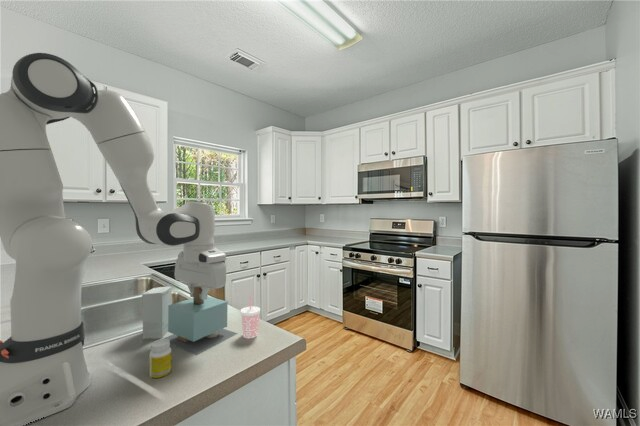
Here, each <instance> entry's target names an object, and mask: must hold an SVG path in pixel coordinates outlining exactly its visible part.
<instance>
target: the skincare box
mask: <svg viewBox="0 0 640 426" xmlns="http://www.w3.org/2000/svg"><path fill="white" fill-rule="evenodd" d="M141 295H142V296H141V300H142V303H141V304H142V306H141V307H142V310H141V311H142V340H152V339H163V338H165V336H166V334H167V333H169V332H168V305H171V304H173V300H172V296H173V295H172V286H159V287H153V288H151V289H149V290H147V291H146V292H143V293H142V294H141Z"/></svg>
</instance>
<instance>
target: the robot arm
mask: <svg viewBox="0 0 640 426" xmlns="http://www.w3.org/2000/svg"><path fill="white" fill-rule="evenodd" d="M11 74H12V76H11V80H10V88H9V89H8V90H7V91H6V92H2V93H0V239H1V240H0V241H1V243H2V247H3V249H4V251H5V253H6V254H7V255H8V256H9V257H10V258H11V259H12V260H14V261H15V274H14V281H13V282H14V283H13V290H12V296H11V297H10V300H9V304H10V337H8V338H7V339H6V340H5V341H4V342H3V341H2V340H1V339H0V426H23V425H24V426H27V425H29V424H31V423H30V422H32V423H34V422H36V421H35V420H37V421H39V420H42V419H44V418H47V417H49V416H52V415H54V414H56V413H60V412H61V411H64V410H65V409H68V408H70V407H71V406H73V404H74V403H75V401H76V399H77V397H79V395H81V394H82V393H83V392H84V391H85V390H86V389H87V388H88V387H89V386H90V385H91V382H92V376H91V375H90V373H89V371H88V367H87V362H86V358H85V353H84V345H85V337H86V335H85V333H86V331H85V325H84V322H83V321H82V288H83V281H84V277H85V271H86V267H87V263H88V261H87V260H88V257H89V256H90V255H91V252H92V250H93V240H92V239H93V238H92V237H91V235H90V234H89V232H88V231H87V230H86V228H84V227H83V225H81V224H79V223H77V221H76V222H75V221H73V220H71V219H67V217H66V212H65V207H64V198H63V192H64V191H63V190H64V184H63V181H62V178H61V175H60V172H59V168H58V166H57V163H56V160H55V155H54V153H53V150H52V147H51V144H50V142H49V139H48V136H47V129H46V128H47V125H50V124H54V123H57V122H62V121H65V120H67V119H69V118H73V119H74V120H76V121H78V122H79V123H81V124H82V125H83V126H84V127H85V128H86V129H87V131H88V132H89V133H90V135H91V138H93V141H94V143H95V144H96V147H97V148H98V150H99V151H100V153H101V155H102V156H103V158H104V160H105V161H106V163H107V164H108V167H110V169H111V170H112V173H113V174H114V176H115V178H116V179H117V181H118V183H119V185H120V187H121V189H122V192H123V193H124V196H125V197H126V199H127V202H128V204H129V206H130V208H131V209H132V212H133V214H134V219H135V230H136V234H137V236H138V237H139V239H140V240H141V241H143V242H145V243H146V244H149V245H161V246H168V247H175V246H180V245H182V244H183V251H180V252H179V254H177V258H176V260H175V265H174V278H175V280H176V281H180V282H184V283H187V289H188V291H189V293H190V294H189V297H190V298H193V296H194V287H196V285H197V286H202V289H203V290H202V293H201V294H199V299H200V300H206V299H207V296H208V294H209V292H210V289H214V290H217V289H221V288H223V287H224V286H226V283H227V266H226V262H225V261H226V260H227V254H226V253H225V252H223V251H221V250H220V249H219V248H217V247H216V246H215V243H216V242H215V239H214V235H215V234H214V233H215V231H216V217H215V211H214V208H213V207H214V206H212V205H211V204H210V203H209V202H204V201H199V200H188V201H186V202H185V203H184V204H182V205H180V206H179V207H177V208H174V209H171V210H169V211H164V210H162V209H161V208H160V206H158V203H157V202H156V200H155V197H154V195H153V192H152V191H151V188H150V186H149V183H148V172H149V170H150V169H151V167H152V164H153V163H154V160H155V152H154V149H153V145H152V141H151V140H150V138H149V136H148V133H147V132H146V130H145V128H144V126H143V124H142V122H141V120H140V119H139V117H138V116H137V113H135V111H134V109H133V108H132V107H131V105H130V104H129V103H128V101H127V100H126V98H125V97H124V96H123V95H122V94H120V93H118V92H116V91H114V90H107V89H98V87H97V84H95V83H94V82H93V81H91V80H90V79H89V78H87V77H86V76H85V75H84V74H83V73H81V72H80V71H79V70H78V68H76V67H75V66H74V65H72V64H71V62H68V61H67V60H65V59H63V58H62V57H59V56H58V55H54V54H52V53H51V54H50V53H46V52H34V53H29V54H26V55H24V56H23V57H21V58H19V59H18V60H17V61H16V62H15V64H14V66H13V68H12V73H11ZM43 417H44V418H43ZM41 418H42V419H41ZM38 419H39V420H38ZM33 421H34V422H33ZM28 423H29V424H28ZM26 424H27V425H26Z"/></svg>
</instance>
